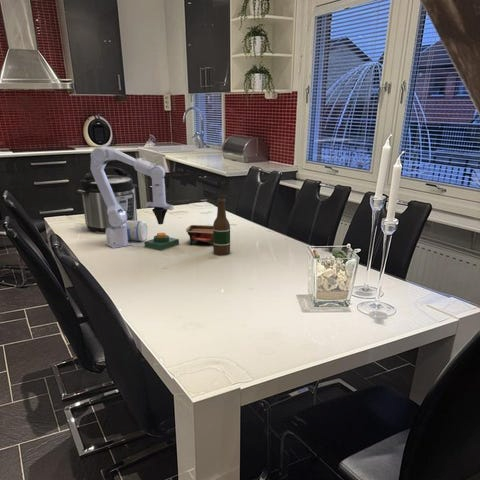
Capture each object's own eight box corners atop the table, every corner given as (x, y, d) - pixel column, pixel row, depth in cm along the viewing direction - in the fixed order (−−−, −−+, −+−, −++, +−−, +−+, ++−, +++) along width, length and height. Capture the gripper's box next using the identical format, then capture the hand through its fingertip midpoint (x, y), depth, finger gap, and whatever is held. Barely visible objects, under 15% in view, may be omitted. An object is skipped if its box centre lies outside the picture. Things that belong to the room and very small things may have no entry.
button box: (160, 250, 212) (160, 241, 210) (144, 247, 217) (143, 237, 215) (179, 244, 222) (178, 235, 220) (163, 241, 227) (162, 232, 225)
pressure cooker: (80, 236, 234) (72, 170, 221) (85, 223, 259) (77, 164, 246) (141, 233, 241) (136, 169, 227) (140, 222, 266) (135, 163, 253)
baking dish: (217, 251, 219) (220, 231, 215) (181, 243, 221) (183, 222, 217) (223, 246, 232) (227, 226, 228) (189, 238, 234) (192, 218, 230)
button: (161, 238, 216) (161, 235, 215) (155, 237, 217) (155, 233, 217) (167, 237, 219) (167, 233, 218) (161, 235, 221) (160, 232, 220)
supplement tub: (142, 243, 224) (113, 242, 226) (149, 238, 232) (121, 236, 235) (139, 223, 219) (110, 222, 222) (147, 218, 228) (119, 217, 230)
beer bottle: (228, 255, 206) (228, 200, 196) (211, 254, 207) (210, 199, 197) (231, 251, 213) (232, 197, 203) (215, 250, 214) (214, 196, 204)
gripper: (177, 194, 209) (178, 224, 215) (152, 191, 216) (154, 220, 222) (166, 196, 204) (168, 227, 210) (142, 193, 211) (144, 223, 217)
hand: (160, 224), depth 215 cm, fingers closed
